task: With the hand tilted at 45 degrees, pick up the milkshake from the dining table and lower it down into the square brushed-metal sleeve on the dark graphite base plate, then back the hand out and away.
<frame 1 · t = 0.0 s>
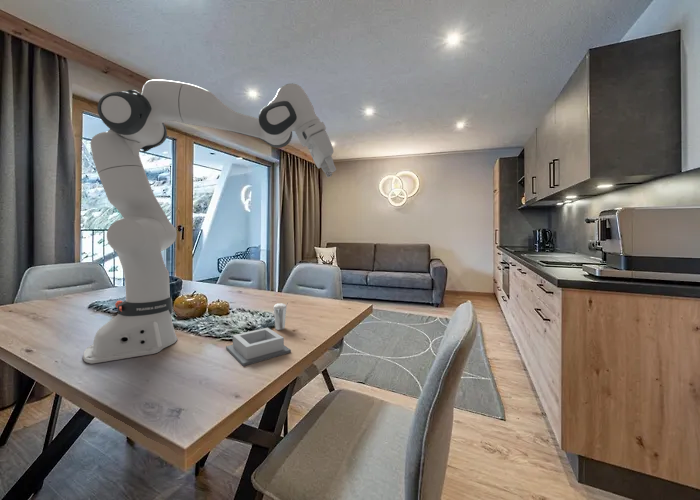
hand: (332, 174, 98), 54 cm above the table, tool tilted 30°, fingers open, 8 cm apart
sleeve housing: (258, 350, 87), on the table
milkshake: (281, 329, 106), on the table
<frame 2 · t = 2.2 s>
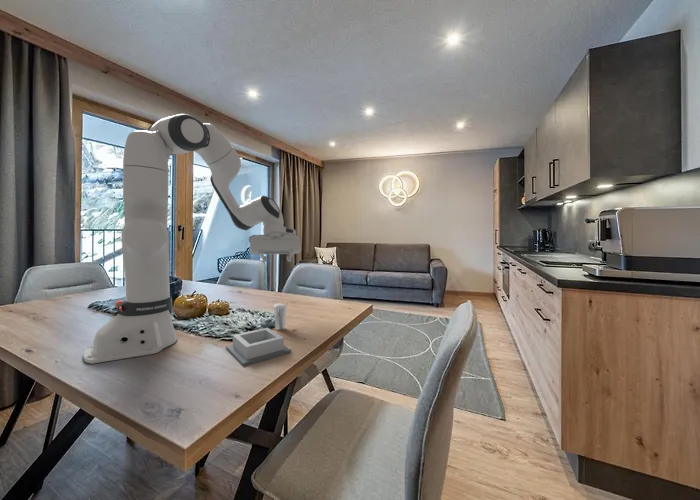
hand: (277, 260, 116), 23 cm above the table, tool tilted 45°, fingers open, 8 cm apart
nothing on the table moved.
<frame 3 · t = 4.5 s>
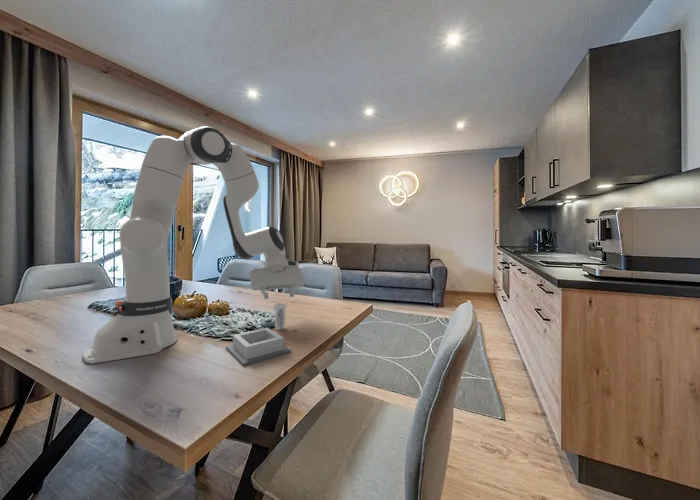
hand: (279, 297, 111), 10 cm above the table, tool tilted 45°, fingers open, 8 cm apart
nothing on the table moved.
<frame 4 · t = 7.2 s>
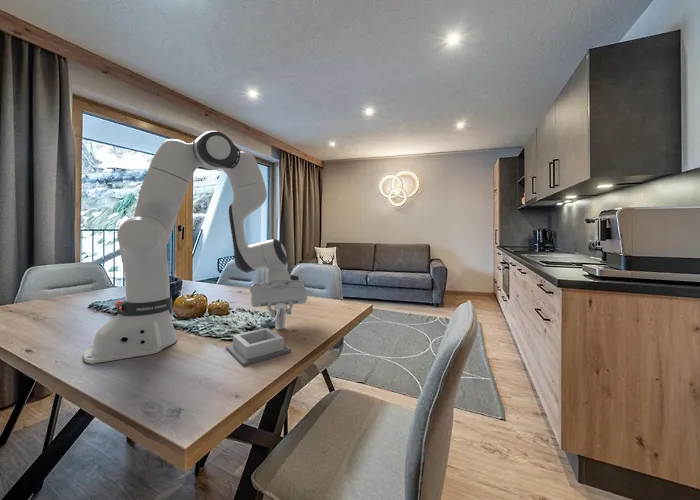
hand: (281, 314, 105), 5 cm above the table, tool tilted 45°, fingers closed on milkshake, 4 cm apart
milkshake: (281, 329, 106), on the table, touching gripper
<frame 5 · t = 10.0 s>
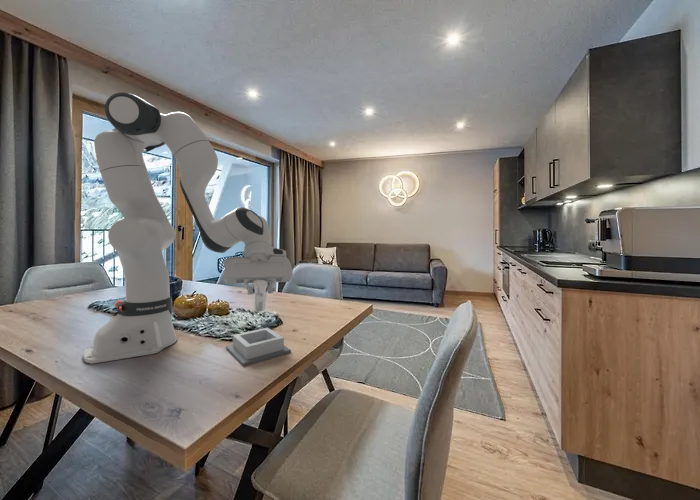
hand: (260, 292, 88), 17 cm above the table, tool tilted 45°, fingers closed on milkshake, 4 cm apart
milkshake: (260, 310, 89), point 11 cm above the table, touching gripper
when the fingers open (8 cm above the table, at t = 13.3 s): milkshake drops 2 cm, resting on sleeve housing.
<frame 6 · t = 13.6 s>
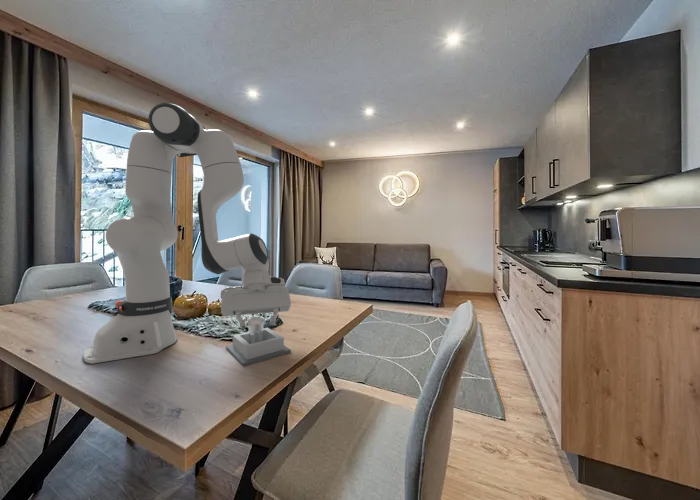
hand: (257, 325, 86), 8 cm above the table, tool tilted 45°, fingers open, 7 cm apart
milkshake: (257, 348, 87), point 1 cm above the table, touching sleeve housing
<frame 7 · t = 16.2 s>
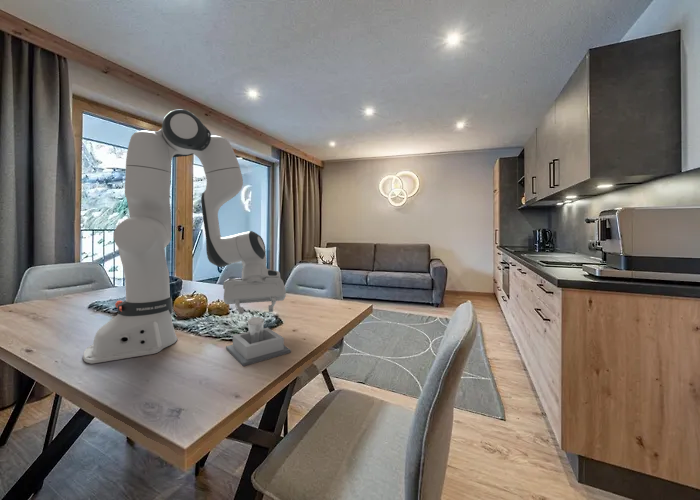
hand: (256, 312, 97), 8 cm above the table, tool tilted 45°, fingers open, 8 cm apart
nothing on the table moved.
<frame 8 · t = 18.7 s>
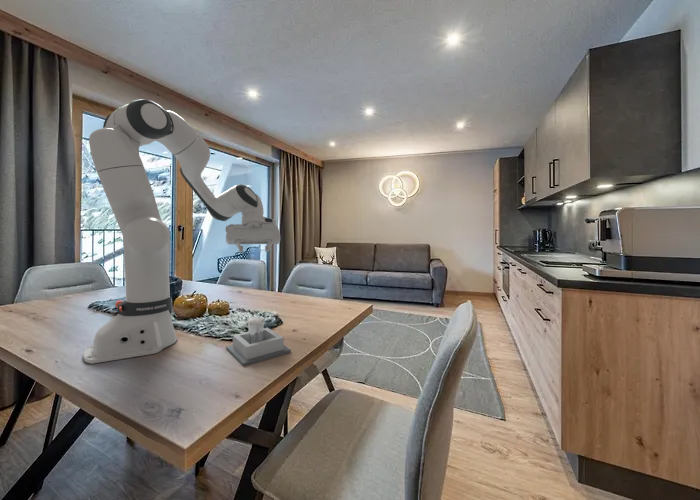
hand: (254, 250, 112), 27 cm above the table, tool tilted 45°, fingers open, 8 cm apart
nothing on the table moved.
at the end: milkshake 0.2 cm off-centre on the sleeve housing, point 0.6 cm above the sleeve housing's base; milkshake tilted 0°; the gripper is holding nothing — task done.
